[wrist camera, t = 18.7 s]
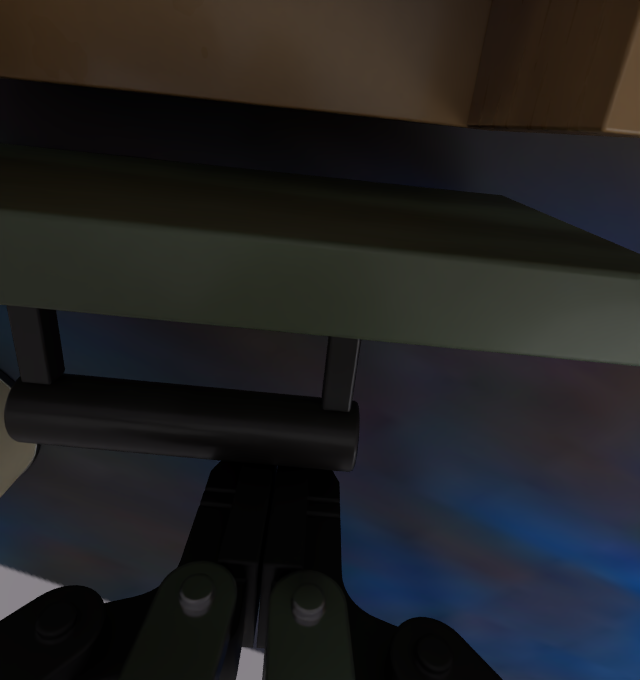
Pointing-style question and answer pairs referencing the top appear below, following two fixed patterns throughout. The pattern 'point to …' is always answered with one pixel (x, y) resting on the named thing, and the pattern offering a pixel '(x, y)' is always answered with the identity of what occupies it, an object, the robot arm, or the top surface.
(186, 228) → the drawer
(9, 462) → the tin can
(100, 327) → the top surface
